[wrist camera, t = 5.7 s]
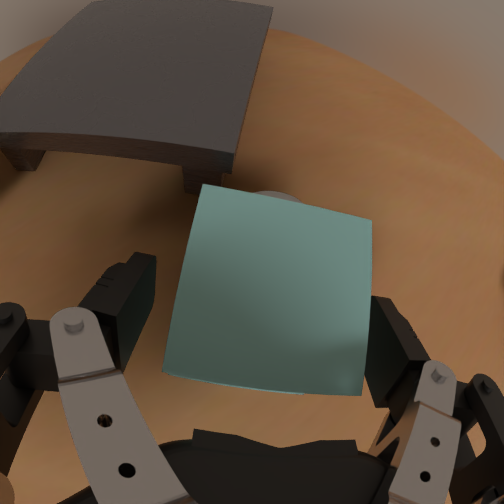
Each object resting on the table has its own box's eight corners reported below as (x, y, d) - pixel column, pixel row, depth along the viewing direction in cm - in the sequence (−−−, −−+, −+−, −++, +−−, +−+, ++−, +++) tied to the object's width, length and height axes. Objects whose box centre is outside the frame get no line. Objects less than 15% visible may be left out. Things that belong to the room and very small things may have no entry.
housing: (170, 373, 14) (129, 392, 6) (198, 235, 16) (192, 136, 9) (297, 392, 14) (379, 420, 7) (313, 257, 17) (388, 182, 9)
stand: (8, 174, 16) (-25, 133, 11) (99, 42, 21) (91, 1, 16) (226, 207, 17) (234, 153, 12) (263, 53, 22) (273, 7, 18)
